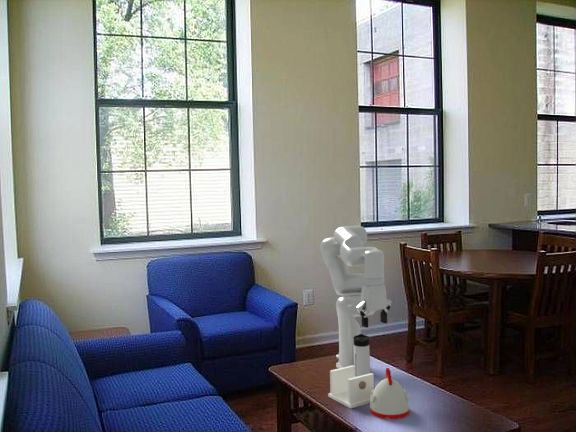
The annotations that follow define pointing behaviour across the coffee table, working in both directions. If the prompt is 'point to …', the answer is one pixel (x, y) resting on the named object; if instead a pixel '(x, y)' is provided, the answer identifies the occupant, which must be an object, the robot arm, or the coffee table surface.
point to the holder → (350, 387)
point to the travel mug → (361, 355)
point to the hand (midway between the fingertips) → (374, 324)
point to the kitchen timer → (389, 399)
